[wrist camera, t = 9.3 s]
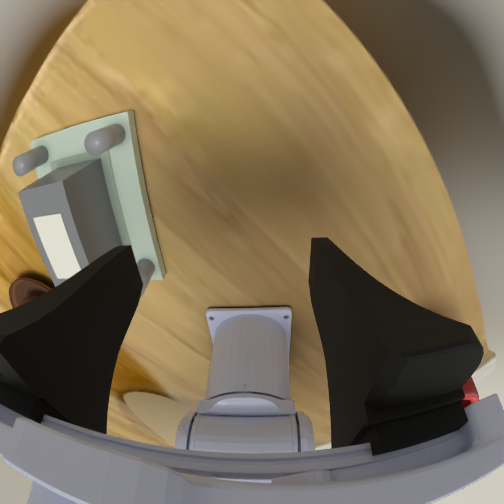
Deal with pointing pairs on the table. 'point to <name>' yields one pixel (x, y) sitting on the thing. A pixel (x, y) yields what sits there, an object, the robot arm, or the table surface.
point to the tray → (107, 179)
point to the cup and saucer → (26, 291)
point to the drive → (71, 218)
